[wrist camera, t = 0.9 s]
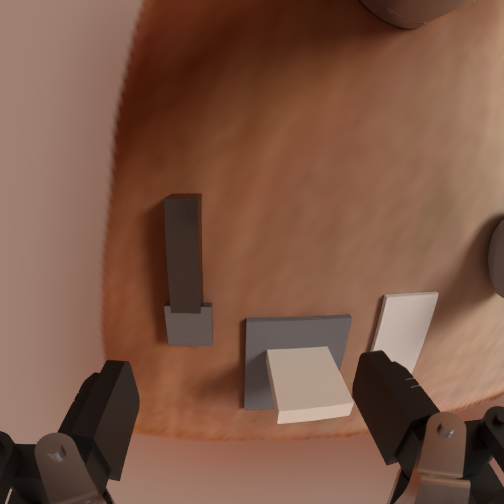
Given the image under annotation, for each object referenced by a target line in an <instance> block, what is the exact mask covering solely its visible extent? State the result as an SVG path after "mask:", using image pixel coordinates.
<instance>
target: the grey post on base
mask: <svg viewBox="0 0 504 504" xmlns="http://www.w3.org/2000/svg"><path fill="white" fill-rule="evenodd" d="M164 217H165V241H166V258H167V273H168V286H169V297H170V302H165V305H164V311H165V320H166V328H167V336H168V344H169V345H185V346H213V322H212V303H203V272H202V194H171V195H169V196H168V197H166V198H165V199H164Z"/></svg>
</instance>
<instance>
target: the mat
mask: <svg viewBox="0 0 504 504" xmlns="http://www.w3.org/2000/svg"><path fill="white" fill-rule="evenodd" d="M351 319H352V317H351V316H350V315H336V316H315V317H288V318H246V345H245V384H244V410H264V409H274V404H273V398H272V393H271V387H270V382H269V376H268V371H267V365H266V356H267V350H272V349H295V348H312V347H326V346H327V347H328V349H329V351H330V353H331V355H332V357H333V359H334V361H335V364H336V366H337V368H338V370H340V366H341V363H342V359H343V354H344V350H345V346H346V342H347V337H348V333H349V328H350V324H351Z"/></svg>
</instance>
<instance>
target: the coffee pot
mask: <svg viewBox="0 0 504 504" xmlns="http://www.w3.org/2000/svg"><path fill="white" fill-rule="evenodd" d="M488 265H489V274H490V280H491V283H492V285H493V287H494V289H495V291H496V293H497V294H498V295H500V296H501V297H503V298H504V219H503V220H502V221H501V222H500V223H499V224H498V226H497V228H496V229H495V231H494V233H493V236H492V238H491V241H490V245H489V250H488Z"/></svg>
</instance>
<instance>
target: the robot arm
mask: <svg viewBox="0 0 504 504" xmlns="http://www.w3.org/2000/svg"><path fill="white" fill-rule="evenodd" d="M360 1H361V2H362V3H363V4H364V5H365V6H366V7H367V8H368V9H369V10H370V11H371V12H373V13H374V14H375V15H377V16H378V17H379V18H381V19H383V20H384V21H386V22H388V23H390V24H392V25H395V26H397V27H401V28H405V29H415V28H419V27H421V26H423V25H425V24H427V23H429V22H431V21H433V20H435V19H437V18H439V17H441V16H443V15H445V14H448V13H450V12H452V11H454V10H456V9H458V8H460V7H462V6H465V5H467V4H469V3H471V2H474V1H476V0H360ZM352 392H353V398H354V401H355V403H356V405H357V407H358V409H359V411H360V413H361V415H362V417H363V419H364V421H365V423H366V425H367V427H368V429H369V431H370V433H371V435H372V437H373V438H374V441H375V443H376V445H377V447H378V449H379V451H380V453H381V455H382V457H383V459H384V461H385V463H386V465H390V464H393V463H396V462H399V464H400V466H401V467H400V469H399V471H398V473H397V476H396V479H395V482H394V485H393V488H392V491H391V494H390V496H389V499H388V501H387V504H504V487H503V485H502V484H501V482H500V480H499V479H498V477H497V475H496V474H495V472H494V470H493V469H492V467H491V466H490V464H489V462H490V461H491V460H492V459H493V457H494V458H495V460H496V461H497V463H498V465H499V466H500V467H501V469H502V471H503V472H504V407H500V406H495V407H491V408H490V409H488V410H487V412H486V413H485V415H484V417H483V418H482V419H480V420H473V421H463V420H462V419H461V418H460V417H459V416H458V415H456V414H453V413H450V412H440V411H439V409H438V408H437V407H436V405H435V404H434V403H433V402H432V400H431V399H430V398H429V396H428V395H427V394H426V392H425V391H424V390H423V389H422V387H421V386H419V383H418V382H417V381H416V380H415V379H413V376H412V375H411V373H410V372H409V371H408V370H407V368H405V367H404V366H402V365H401V364H399V363H398V362H396V361H393V362H392V361H391V360H390V359H389V357H388V356H387V355H386V353H385V352H384V351H382V350H378V351H372V352H366V353H362V354H361V355H360V358H359V362H358V366H357V370H356V374H355V378H354V382H353V388H352ZM139 404H140V400H139V393H138V390H137V386H136V383H135V379H134V376H133V372H132V368H131V365H130V363H129V362H128V361H116V360H107V361H106V363H105V364H104V366H103V368H102V370H101V372H100V373H93V374H92V375H91V376H90V377H88V378H87V379H86V380H85V381H84V383H83V384H82V386H81V388H80V390H79V393H78V394H77V396H76V397H75V401H73V403H72V405H71V407H70V409H69V411H68V413H67V415H66V417H65V419H64V420H63V422H62V424H61V426H60V428H59V430H58V432H57V433H51V434H48V435H45V436H43V437H42V438H41V439H40V440H39V441H38V442H37V444H15V443H14V442H13V440H12V439H11V437H10V436H9V435H8V434H6V433H4V432H1V431H0V504H5V501H6V498H7V496H8V493H9V490H10V488H11V489H12V492H11V495H10V498H9V501H8V504H115V502H114V500H113V499H112V497H111V495H110V493H109V492H108V490H107V488H106V485H107V482H108V479H111V480H116V481H120V478H121V473H122V469H123V465H124V462H125V458H126V454H127V450H128V446H129V442H130V439H131V435H132V432H133V428H134V425H135V421H136V418H137V414H138V411H139Z"/></svg>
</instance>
